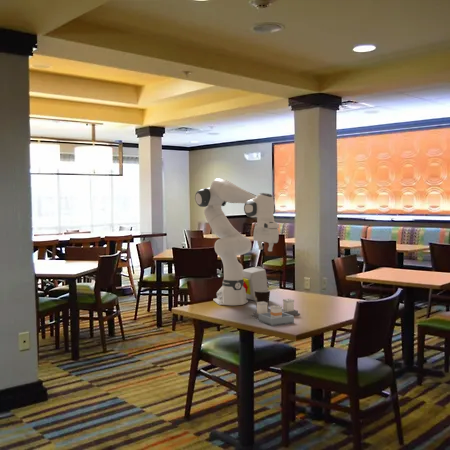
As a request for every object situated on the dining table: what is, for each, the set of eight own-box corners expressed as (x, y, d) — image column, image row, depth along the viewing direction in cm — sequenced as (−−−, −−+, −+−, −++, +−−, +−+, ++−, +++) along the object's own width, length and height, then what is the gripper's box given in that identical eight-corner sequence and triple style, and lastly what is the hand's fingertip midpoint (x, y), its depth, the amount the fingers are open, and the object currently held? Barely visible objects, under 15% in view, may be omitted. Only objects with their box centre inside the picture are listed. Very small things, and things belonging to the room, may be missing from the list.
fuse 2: (282, 312, 280) (282, 299, 280) (289, 311, 282) (289, 298, 282) (287, 314, 276) (287, 300, 276) (294, 313, 278) (294, 299, 278)
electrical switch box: (236, 301, 326) (232, 269, 324) (257, 296, 332) (253, 265, 330) (247, 305, 312) (243, 272, 310) (269, 300, 319) (265, 267, 317)
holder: (250, 316, 274) (250, 312, 273) (291, 312, 285) (291, 307, 285) (258, 319, 266) (258, 315, 266) (300, 314, 277) (300, 310, 277)
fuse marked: (270, 319, 263) (270, 305, 262) (277, 319, 264) (277, 305, 264) (274, 321, 259) (274, 307, 259) (282, 320, 261) (282, 306, 260)
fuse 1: (256, 315, 273) (256, 302, 273) (263, 314, 275) (263, 301, 274) (260, 317, 269) (260, 303, 269) (267, 316, 271) (267, 302, 271)
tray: (258, 320, 265) (258, 313, 264) (280, 318, 270) (280, 311, 270) (271, 326, 253) (271, 318, 253) (294, 323, 259) (294, 316, 259)
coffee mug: (269, 310, 289) (269, 292, 288) (253, 310, 290) (253, 291, 290) (271, 306, 300) (271, 288, 300) (256, 306, 302) (256, 288, 301)
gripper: (250, 223, 286) (250, 248, 287) (270, 225, 268) (270, 252, 269) (260, 223, 289) (260, 248, 290) (280, 225, 271) (280, 252, 272)
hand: (265, 250), depth 279 cm, fingers open, 8 cm apart
